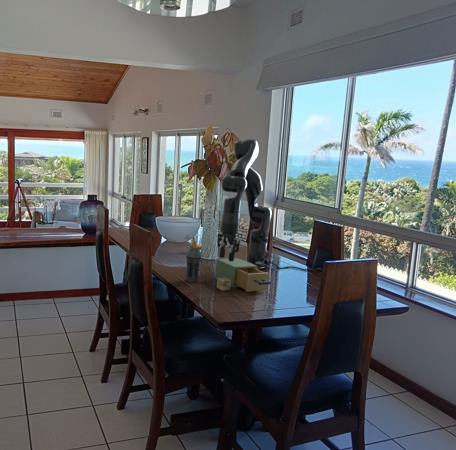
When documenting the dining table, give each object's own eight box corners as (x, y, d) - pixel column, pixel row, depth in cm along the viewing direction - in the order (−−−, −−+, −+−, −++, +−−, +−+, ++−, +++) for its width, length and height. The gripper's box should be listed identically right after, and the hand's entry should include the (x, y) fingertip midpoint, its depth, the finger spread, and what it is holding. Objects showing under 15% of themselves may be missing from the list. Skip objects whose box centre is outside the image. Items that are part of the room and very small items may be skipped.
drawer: (274, 293, 201) (276, 276, 199) (253, 295, 195) (255, 277, 194) (248, 281, 217) (250, 265, 215) (228, 282, 212) (230, 266, 210)
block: (224, 287, 207) (225, 277, 207) (230, 289, 204) (231, 280, 203) (216, 287, 206) (217, 278, 205) (222, 290, 202) (223, 281, 201)
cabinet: (254, 285, 213) (257, 265, 212) (232, 287, 208) (235, 267, 206) (236, 277, 226) (238, 258, 225) (214, 278, 221) (216, 259, 219)
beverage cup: (202, 281, 214) (206, 239, 210) (193, 284, 208) (197, 241, 205) (190, 277, 218) (194, 236, 215) (180, 280, 213) (184, 238, 210)
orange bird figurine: (213, 256, 270) (215, 237, 268) (183, 253, 271) (184, 234, 269) (213, 253, 276) (215, 235, 275) (183, 250, 278) (185, 232, 276)
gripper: (247, 224, 195) (243, 263, 198) (227, 219, 208) (224, 255, 210) (232, 224, 192) (228, 263, 194) (213, 219, 204) (210, 255, 207)
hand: (226, 259), depth 202 cm, fingers open, 6 cm apart
